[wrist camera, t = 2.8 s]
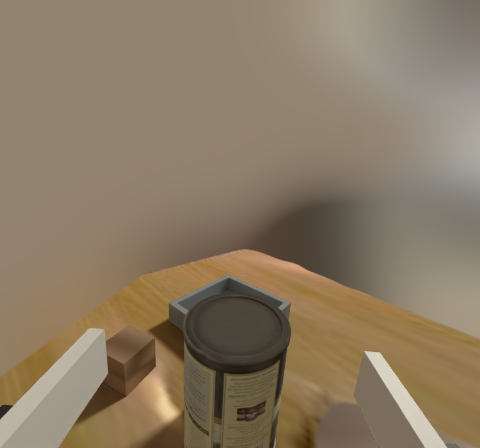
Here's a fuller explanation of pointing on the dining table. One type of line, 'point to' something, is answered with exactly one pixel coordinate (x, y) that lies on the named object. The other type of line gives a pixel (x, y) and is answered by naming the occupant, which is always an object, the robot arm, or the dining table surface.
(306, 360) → the dining table surface
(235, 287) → the tray
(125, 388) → the walnut block
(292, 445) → the dining table surface
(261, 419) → the coffee can
